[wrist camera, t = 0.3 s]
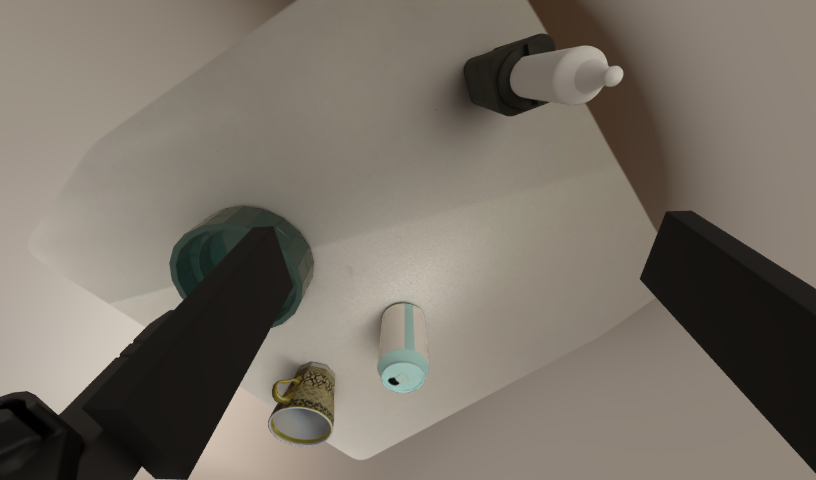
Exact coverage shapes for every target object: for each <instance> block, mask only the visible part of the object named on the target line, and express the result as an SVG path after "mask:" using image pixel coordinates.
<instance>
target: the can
mask: <svg viewBox="0 0 816 480" xmlns="http://www.w3.org/2000/svg"><path fill="white" fill-rule="evenodd" d="M377 369H378V373H379V375H380V377H381V380H382V383H383V384H384V386H385V387H386V388H388V389H389V390H391V391H394V392H398V393H408V392H412V391H415V390H417V389H418V388H420V387H421V386H422V385H423V383H424V381H425V377H426V375H427V374H428V371H429V362H428V350H427V338H426V326H425V317H424V314H423V312H422V311H421V310H420V309H419V308H418V307H416V306H414V305H411V304H406V303H401V304H396V305H393V306H391V307H389V308H388V309H387V310H386V311H385V312H384V314H383V316H382V323H381V334H380V344H379V355H378V366H377Z"/></svg>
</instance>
